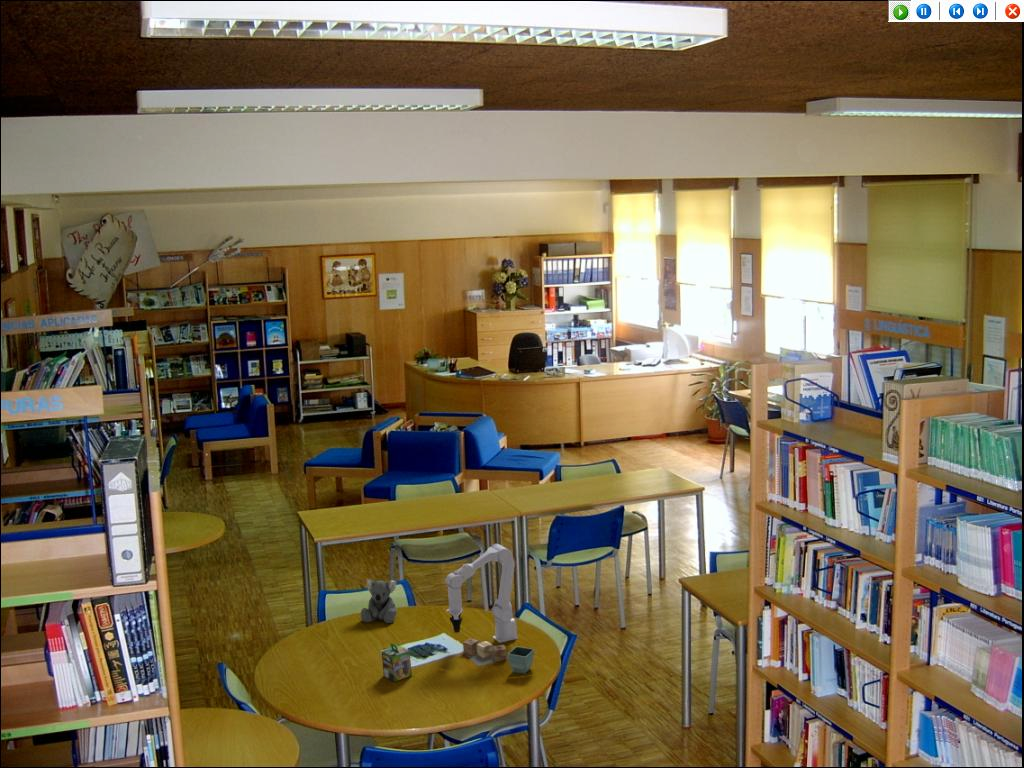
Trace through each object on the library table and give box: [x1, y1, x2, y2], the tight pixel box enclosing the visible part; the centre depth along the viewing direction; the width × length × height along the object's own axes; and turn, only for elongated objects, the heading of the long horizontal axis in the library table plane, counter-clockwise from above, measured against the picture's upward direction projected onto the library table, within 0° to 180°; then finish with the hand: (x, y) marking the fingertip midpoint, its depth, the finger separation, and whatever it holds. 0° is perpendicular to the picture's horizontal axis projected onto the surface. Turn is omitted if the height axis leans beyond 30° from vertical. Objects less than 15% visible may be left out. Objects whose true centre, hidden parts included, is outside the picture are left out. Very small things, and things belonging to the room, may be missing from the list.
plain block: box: [477, 640, 493, 658], centre depth 482 cm, size 5×5×5 cm
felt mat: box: [462, 644, 509, 667], centre depth 482 cm, size 15×18×1 cm
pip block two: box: [462, 638, 480, 655], centre depth 486 cm, size 5×5×5 cm
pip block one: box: [493, 644, 507, 662], centre depth 477 cm, size 5×5×5 cm
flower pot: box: [507, 646, 535, 674], centre depth 464 cm, size 9×9×9 cm
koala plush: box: [360, 578, 397, 624], centre depth 532 cm, size 17×18×20 cm
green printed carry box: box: [381, 642, 413, 683], centre depth 464 cm, size 9×9×15 cm
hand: (456, 628), depth 488 cm, fingers open, 7 cm apart
